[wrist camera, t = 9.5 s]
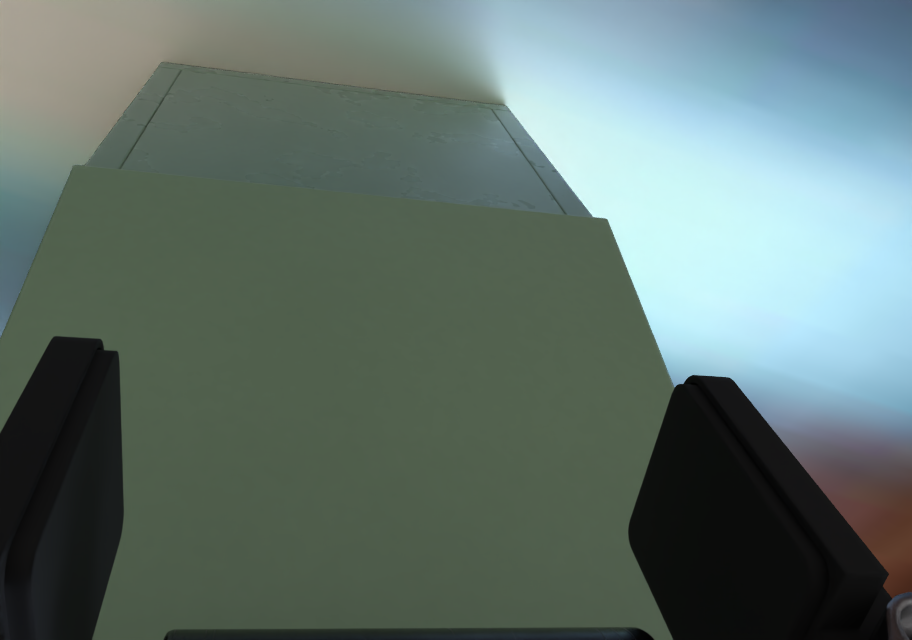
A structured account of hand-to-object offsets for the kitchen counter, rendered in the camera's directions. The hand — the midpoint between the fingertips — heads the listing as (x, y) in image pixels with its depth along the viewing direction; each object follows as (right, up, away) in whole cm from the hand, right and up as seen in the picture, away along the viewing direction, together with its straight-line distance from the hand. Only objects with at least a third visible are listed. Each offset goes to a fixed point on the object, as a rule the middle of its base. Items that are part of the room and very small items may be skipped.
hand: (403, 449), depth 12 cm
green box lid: (-1, -1, +5) cm, 5 cm away
